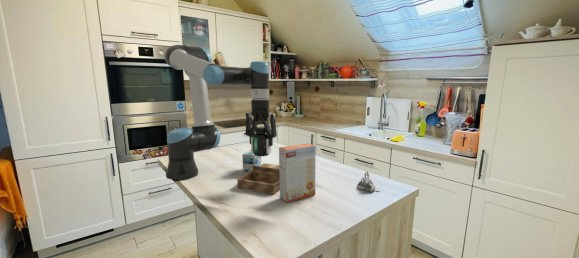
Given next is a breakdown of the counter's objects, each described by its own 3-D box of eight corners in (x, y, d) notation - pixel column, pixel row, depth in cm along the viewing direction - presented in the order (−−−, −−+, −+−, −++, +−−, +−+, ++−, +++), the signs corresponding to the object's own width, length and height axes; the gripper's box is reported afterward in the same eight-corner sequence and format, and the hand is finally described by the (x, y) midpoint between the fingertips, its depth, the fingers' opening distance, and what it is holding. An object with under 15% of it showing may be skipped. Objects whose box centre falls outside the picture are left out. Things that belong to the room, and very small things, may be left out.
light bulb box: (255, 175, 134) (254, 154, 133) (242, 175, 136) (241, 154, 134) (261, 169, 145) (261, 150, 143) (249, 168, 146) (249, 149, 144)
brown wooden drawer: (237, 188, 118) (237, 179, 117) (252, 179, 129) (251, 171, 128) (274, 194, 111) (274, 185, 110) (286, 185, 121) (286, 176, 121)
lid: (251, 171, 127) (250, 165, 127) (263, 164, 138) (263, 159, 138) (285, 176, 120) (285, 170, 120) (295, 169, 131) (295, 163, 130)
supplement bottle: (255, 157, 113) (254, 128, 111) (252, 153, 120) (252, 126, 118) (271, 155, 115) (270, 128, 113) (267, 152, 121) (267, 126, 120)
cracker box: (307, 190, 115) (307, 142, 112) (315, 195, 110) (316, 145, 107) (278, 197, 107) (278, 146, 104) (286, 203, 102) (286, 149, 99)
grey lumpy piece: (384, 187, 119) (385, 171, 118) (374, 193, 113) (375, 175, 112) (366, 182, 125) (366, 166, 124) (356, 187, 119) (356, 171, 118)
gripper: (235, 99, 114) (237, 152, 117) (277, 100, 106) (277, 156, 109) (245, 98, 121) (246, 148, 124) (285, 99, 113) (285, 152, 116)
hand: (261, 152), depth 117 cm, fingers closed on supplement bottle, 7 cm apart
